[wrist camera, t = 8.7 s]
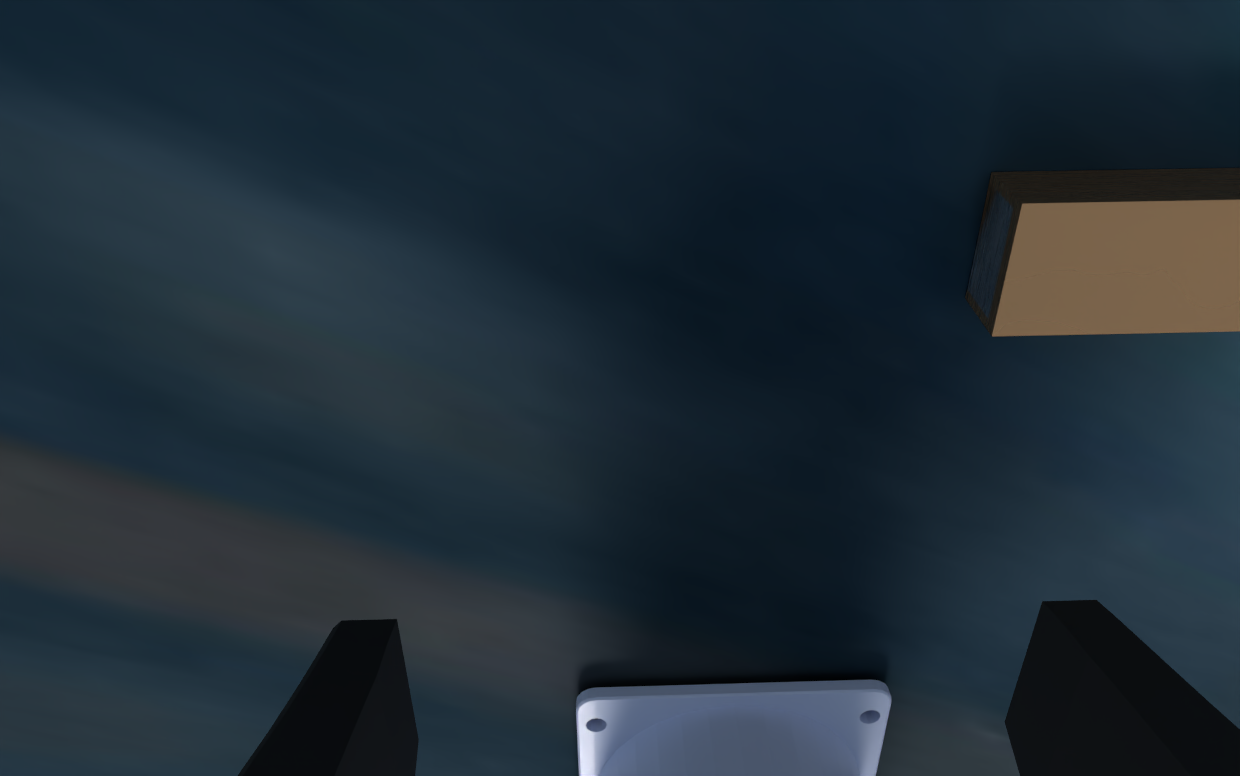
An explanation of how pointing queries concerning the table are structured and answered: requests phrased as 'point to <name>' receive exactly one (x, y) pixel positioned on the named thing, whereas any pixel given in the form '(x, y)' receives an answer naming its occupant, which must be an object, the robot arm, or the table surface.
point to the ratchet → (1108, 252)
